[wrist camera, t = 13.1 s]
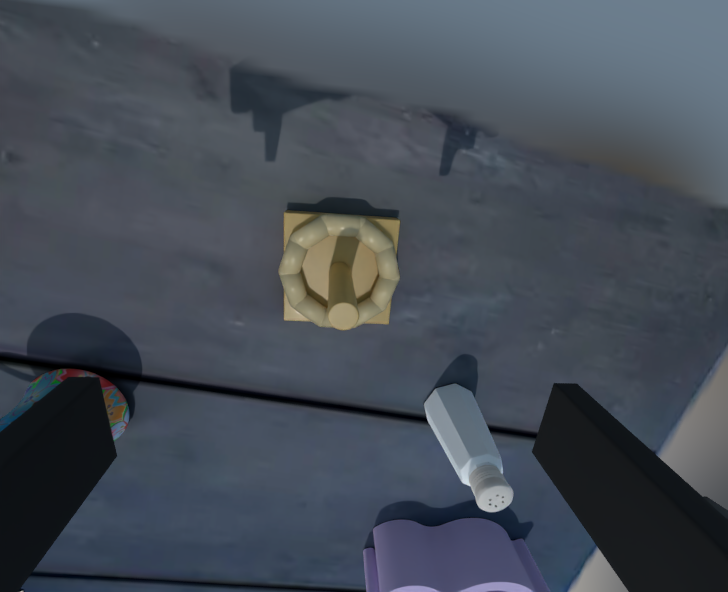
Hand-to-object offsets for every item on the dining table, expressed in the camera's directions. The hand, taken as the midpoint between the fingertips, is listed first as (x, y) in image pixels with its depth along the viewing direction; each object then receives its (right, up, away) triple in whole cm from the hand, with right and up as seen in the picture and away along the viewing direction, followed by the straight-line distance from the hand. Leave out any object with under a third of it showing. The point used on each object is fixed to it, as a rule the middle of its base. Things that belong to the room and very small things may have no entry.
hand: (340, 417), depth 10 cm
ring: (-1, +5, +17) cm, 18 cm away
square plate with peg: (-1, +6, +19) cm, 20 cm away
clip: (+11, -28, +33) cm, 45 cm away
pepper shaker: (+9, -7, +25) cm, 28 cm away
